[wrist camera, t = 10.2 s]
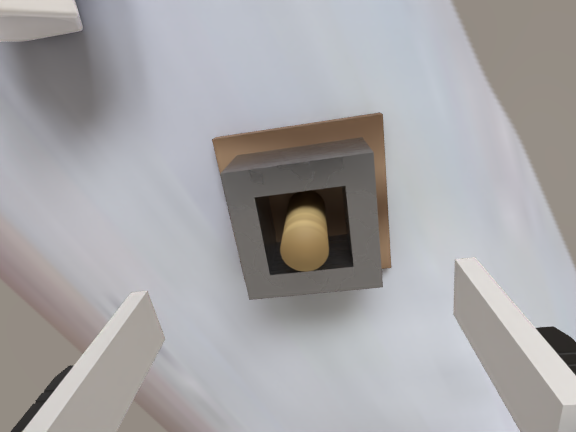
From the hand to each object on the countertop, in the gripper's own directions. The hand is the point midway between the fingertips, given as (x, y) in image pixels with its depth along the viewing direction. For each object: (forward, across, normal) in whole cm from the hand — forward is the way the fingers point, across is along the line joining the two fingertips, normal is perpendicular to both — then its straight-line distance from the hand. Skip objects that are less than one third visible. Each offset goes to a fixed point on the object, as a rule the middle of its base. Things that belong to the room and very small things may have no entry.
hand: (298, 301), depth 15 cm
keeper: (+13, 0, -1) cm, 13 cm away
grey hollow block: (+12, 0, 0) cm, 12 cm away
